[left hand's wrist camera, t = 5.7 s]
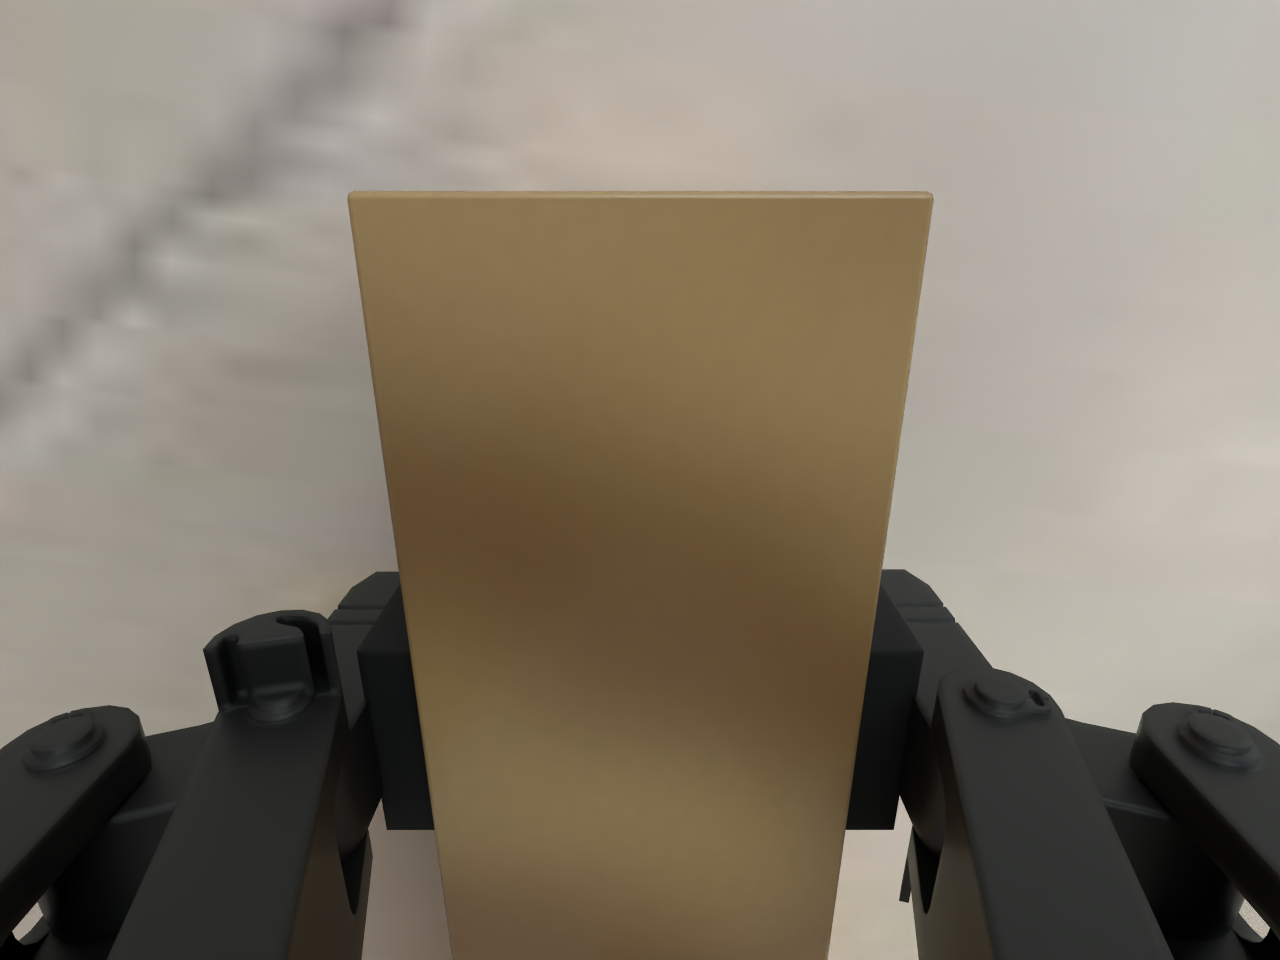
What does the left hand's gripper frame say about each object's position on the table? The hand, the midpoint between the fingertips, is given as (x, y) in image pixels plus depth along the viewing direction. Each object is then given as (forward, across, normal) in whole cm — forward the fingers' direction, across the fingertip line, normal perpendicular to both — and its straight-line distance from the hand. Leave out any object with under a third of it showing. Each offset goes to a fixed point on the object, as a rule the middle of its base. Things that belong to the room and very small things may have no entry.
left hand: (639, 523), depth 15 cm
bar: (+1, 0, -24) cm, 25 cm away
